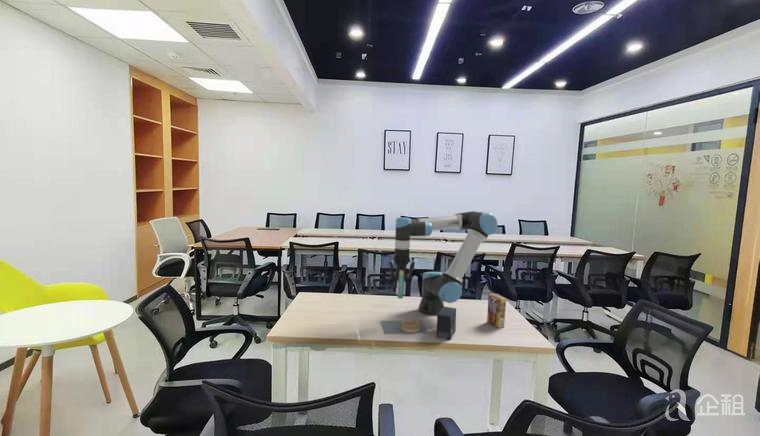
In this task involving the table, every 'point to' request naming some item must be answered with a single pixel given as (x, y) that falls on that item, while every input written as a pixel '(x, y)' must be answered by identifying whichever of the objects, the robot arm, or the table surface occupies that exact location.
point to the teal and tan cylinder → (400, 283)
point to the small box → (446, 323)
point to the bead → (410, 325)
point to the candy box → (496, 310)
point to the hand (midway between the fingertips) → (400, 293)
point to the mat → (399, 328)
